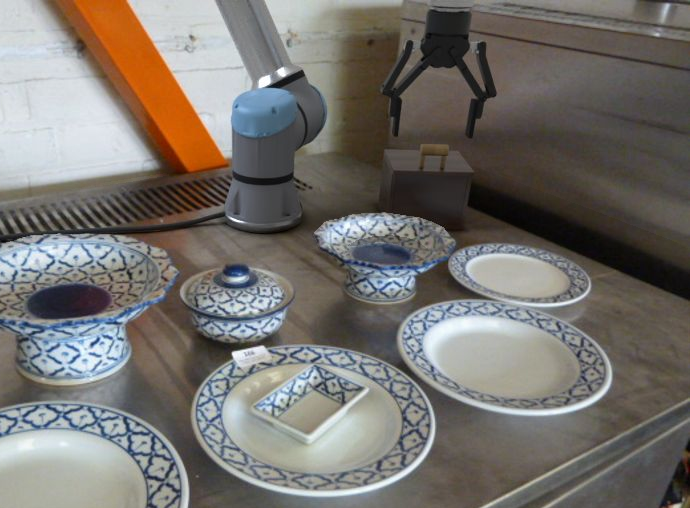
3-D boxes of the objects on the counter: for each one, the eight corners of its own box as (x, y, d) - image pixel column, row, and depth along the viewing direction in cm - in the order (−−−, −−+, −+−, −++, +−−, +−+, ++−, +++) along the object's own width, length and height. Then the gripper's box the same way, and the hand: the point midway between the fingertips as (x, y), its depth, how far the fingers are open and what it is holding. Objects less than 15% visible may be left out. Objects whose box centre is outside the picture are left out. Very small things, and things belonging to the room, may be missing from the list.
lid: (474, 176, 119) (478, 149, 116) (393, 174, 119) (396, 147, 117) (457, 154, 131) (461, 129, 128) (383, 153, 131) (386, 127, 128)
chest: (462, 230, 125) (472, 175, 120) (385, 228, 125) (392, 173, 120) (449, 206, 136) (457, 155, 131) (378, 204, 136) (383, 153, 131)
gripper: (378, 9, 108) (366, 139, 118) (531, 12, 107) (505, 142, 118) (373, 5, 114) (362, 128, 125) (517, 8, 114) (494, 131, 124)
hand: (431, 135), depth 121 cm, fingers open, 13 cm apart
